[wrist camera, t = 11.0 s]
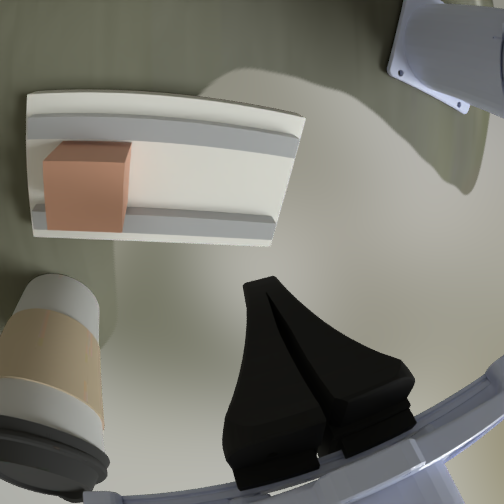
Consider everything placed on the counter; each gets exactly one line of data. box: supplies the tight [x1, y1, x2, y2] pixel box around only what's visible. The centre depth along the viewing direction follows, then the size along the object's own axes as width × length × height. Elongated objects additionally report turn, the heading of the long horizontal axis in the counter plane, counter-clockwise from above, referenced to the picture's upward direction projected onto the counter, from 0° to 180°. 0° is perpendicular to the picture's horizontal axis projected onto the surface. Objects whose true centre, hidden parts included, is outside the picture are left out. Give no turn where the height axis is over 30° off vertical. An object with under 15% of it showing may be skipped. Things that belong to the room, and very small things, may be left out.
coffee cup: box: [0, 274, 110, 503], centre depth 17 cm, size 9×9×15 cm
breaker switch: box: [43, 141, 132, 233], centre depth 15 cm, size 4×4×4 cm
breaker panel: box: [26, 89, 306, 247], centre depth 18 cm, size 16×9×2 cm, turn 78°
